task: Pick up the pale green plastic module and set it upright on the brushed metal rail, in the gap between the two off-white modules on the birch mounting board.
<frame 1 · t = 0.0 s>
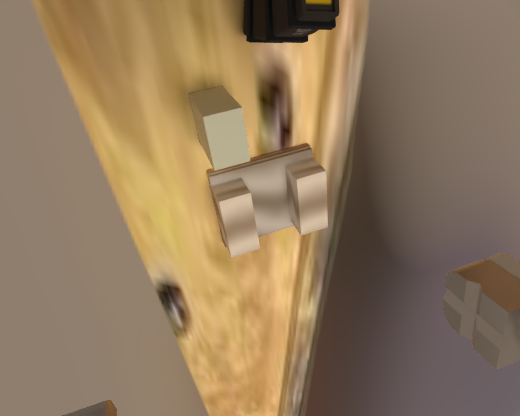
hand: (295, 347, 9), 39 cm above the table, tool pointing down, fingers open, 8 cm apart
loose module: (210, 114, 46), on the table
rail board: (263, 194, 54), on the table
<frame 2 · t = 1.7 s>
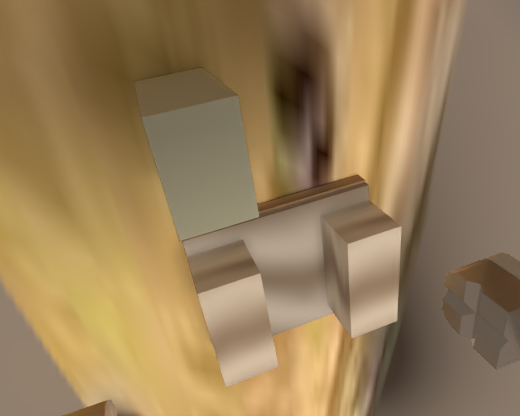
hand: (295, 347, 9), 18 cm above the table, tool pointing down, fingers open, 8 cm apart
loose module: (181, 124, 24), on the table
rail board: (282, 263, 31), on the table
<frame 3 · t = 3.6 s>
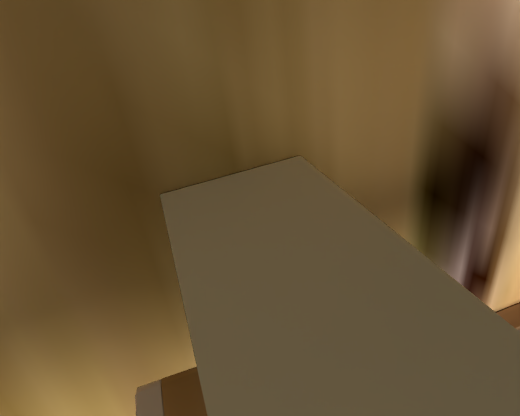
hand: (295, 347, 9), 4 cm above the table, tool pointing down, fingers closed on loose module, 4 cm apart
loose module: (250, 261, 12), on the table, touching gripper
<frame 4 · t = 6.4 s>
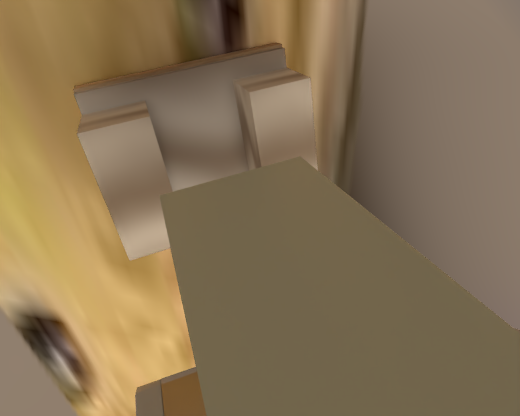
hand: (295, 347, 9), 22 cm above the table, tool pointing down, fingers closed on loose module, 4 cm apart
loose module: (250, 262, 12), point 19 cm above the table, touching gripper
rail board: (200, 145, 30), on the table
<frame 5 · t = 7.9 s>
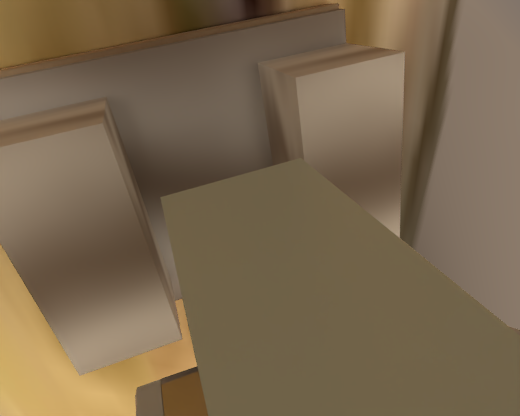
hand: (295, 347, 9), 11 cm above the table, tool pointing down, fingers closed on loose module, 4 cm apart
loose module: (251, 263, 12), point 8 cm above the table, touching gripper
rail board: (203, 169, 19), on the table
when the fingers open (7 cm above the table, at t = 9.3 s): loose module drops 1 cm, resting on rail board.
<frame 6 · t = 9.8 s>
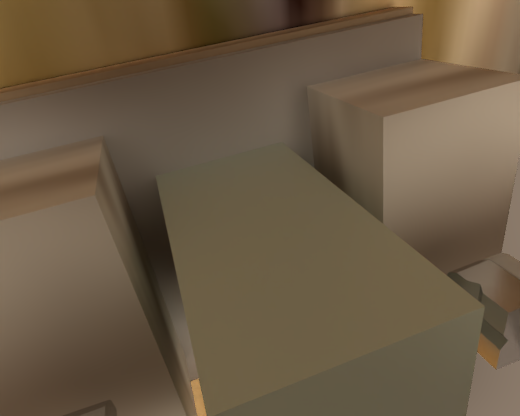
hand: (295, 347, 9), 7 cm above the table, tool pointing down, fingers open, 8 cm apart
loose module: (238, 239, 13), point 1 cm above the table, touching rail board
rail board: (228, 218, 15), on the table
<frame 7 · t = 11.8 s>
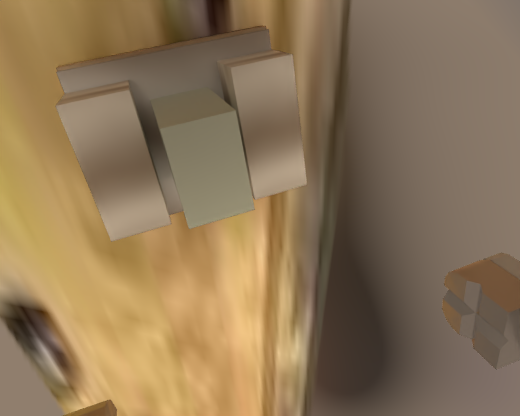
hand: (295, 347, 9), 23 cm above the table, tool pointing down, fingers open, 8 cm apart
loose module: (189, 134, 28), point 1 cm above the table, touching rail board
rail board: (186, 129, 29), on the table
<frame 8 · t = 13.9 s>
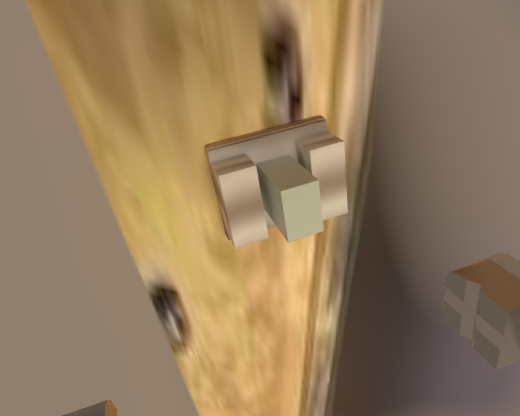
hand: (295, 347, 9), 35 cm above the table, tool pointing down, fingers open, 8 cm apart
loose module: (275, 182, 46), point 1 cm above the table, touching rail board
rail board: (271, 177, 47), on the table
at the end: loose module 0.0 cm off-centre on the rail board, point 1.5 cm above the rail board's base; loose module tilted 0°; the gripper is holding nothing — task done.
